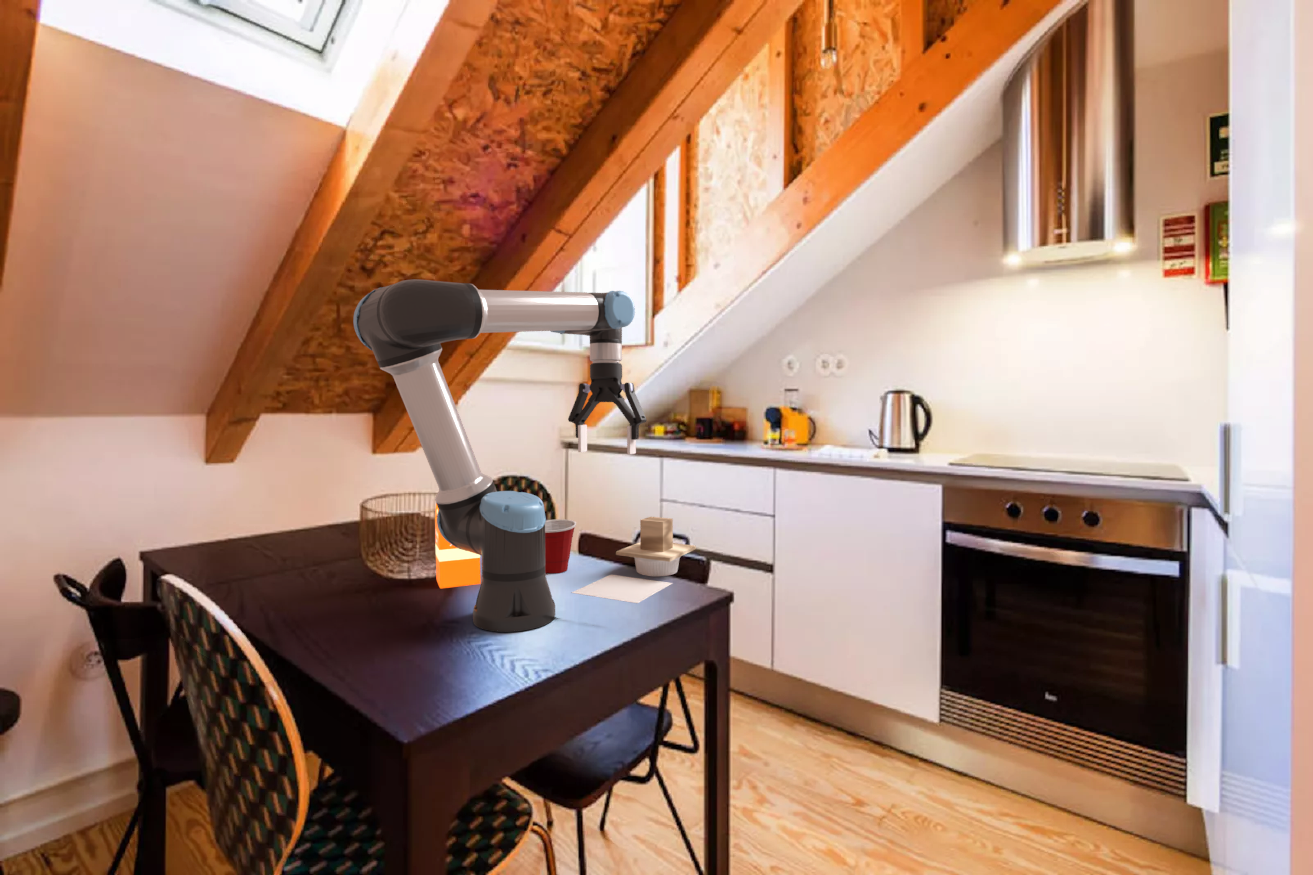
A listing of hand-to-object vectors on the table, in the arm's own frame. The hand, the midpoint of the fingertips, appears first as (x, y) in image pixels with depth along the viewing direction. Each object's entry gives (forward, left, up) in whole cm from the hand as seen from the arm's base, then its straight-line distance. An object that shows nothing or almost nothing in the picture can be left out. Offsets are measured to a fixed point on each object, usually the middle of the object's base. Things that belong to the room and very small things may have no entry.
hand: (606, 453), depth 154 cm
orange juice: (-22, +26, -29) cm, 45 cm away
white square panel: (-11, -11, -29) cm, 32 cm away
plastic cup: (-6, +11, -29) cm, 32 cm away
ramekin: (+5, -11, -29) cm, 31 cm away
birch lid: (+5, -11, -24) cm, 26 cm away
